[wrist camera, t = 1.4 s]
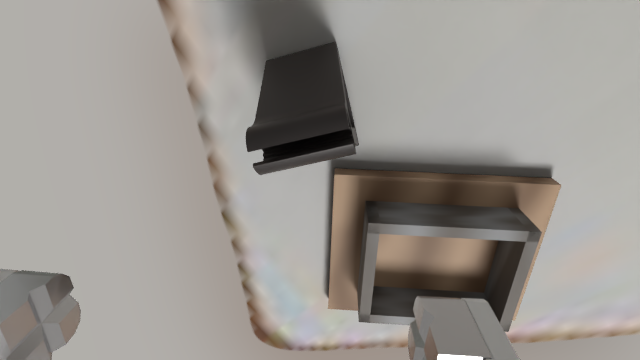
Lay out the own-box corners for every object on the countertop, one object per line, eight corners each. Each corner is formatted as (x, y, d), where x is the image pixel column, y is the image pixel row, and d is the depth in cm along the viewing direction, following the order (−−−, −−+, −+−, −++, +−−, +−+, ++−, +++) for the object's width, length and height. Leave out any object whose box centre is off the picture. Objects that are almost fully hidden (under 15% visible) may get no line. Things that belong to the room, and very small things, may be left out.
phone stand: (358, 144, 32) (367, 206, 21) (295, 157, 33) (272, 224, 22) (336, 41, 28) (333, 51, 17) (267, 59, 29) (222, 81, 18)
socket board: (551, 178, 32) (590, 206, 27) (508, 310, 39) (533, 352, 34) (334, 168, 33) (333, 194, 28) (328, 298, 39) (326, 338, 34)
